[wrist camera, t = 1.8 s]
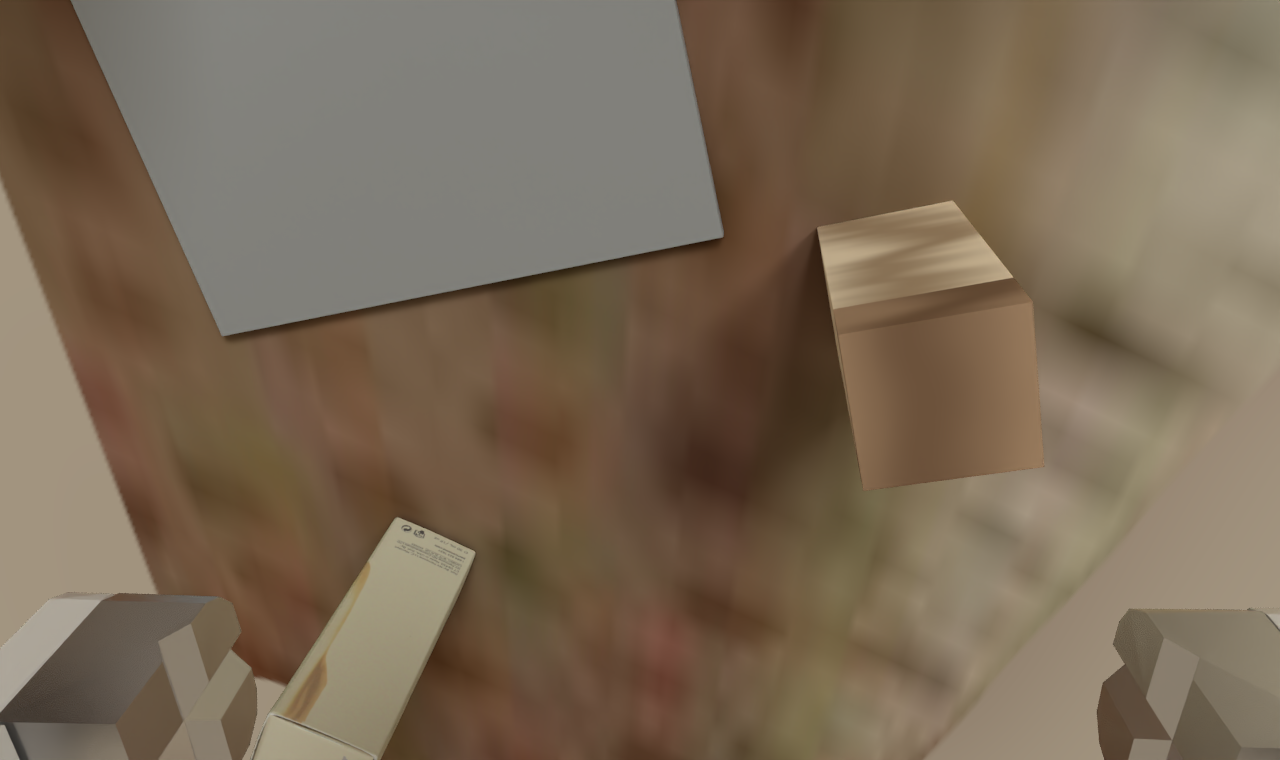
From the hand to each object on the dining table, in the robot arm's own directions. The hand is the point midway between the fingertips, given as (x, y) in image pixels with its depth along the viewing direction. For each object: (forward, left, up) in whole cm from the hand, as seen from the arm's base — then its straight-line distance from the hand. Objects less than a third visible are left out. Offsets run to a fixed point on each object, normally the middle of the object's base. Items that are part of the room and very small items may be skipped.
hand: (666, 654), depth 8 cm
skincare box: (+19, +18, -28) cm, 38 cm away
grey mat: (+12, -5, -28) cm, 31 cm away
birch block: (-5, +7, -28) cm, 29 cm away
